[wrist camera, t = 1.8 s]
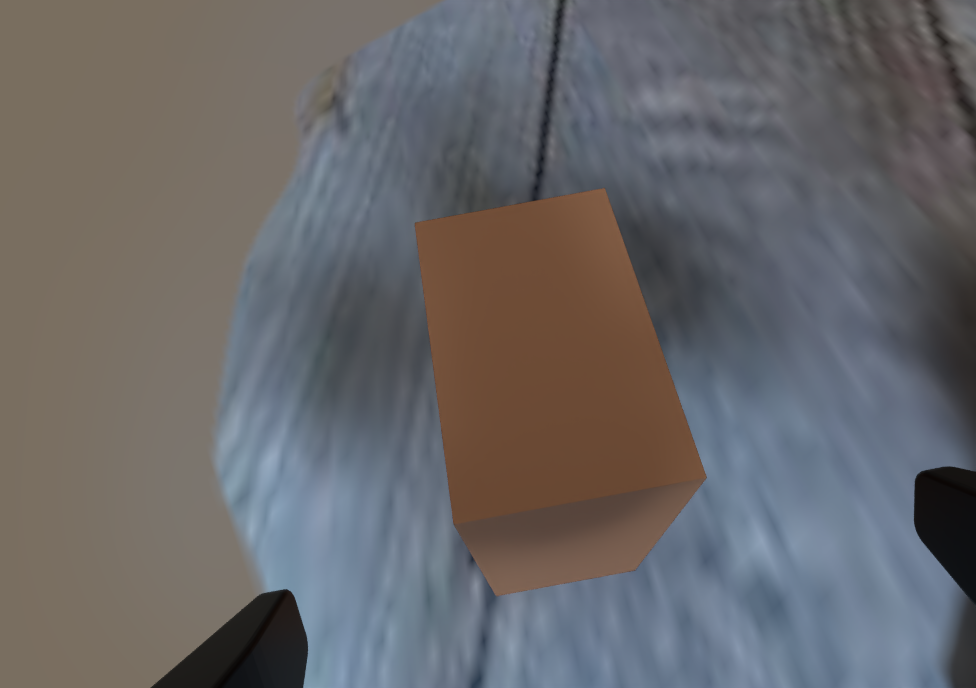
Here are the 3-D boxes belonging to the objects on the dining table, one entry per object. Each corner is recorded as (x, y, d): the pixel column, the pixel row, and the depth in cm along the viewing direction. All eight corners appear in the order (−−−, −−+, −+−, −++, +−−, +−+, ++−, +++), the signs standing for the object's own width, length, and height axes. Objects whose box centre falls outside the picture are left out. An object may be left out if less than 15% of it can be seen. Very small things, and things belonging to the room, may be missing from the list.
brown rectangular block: (634, 570, 19) (706, 477, 10) (496, 596, 19) (453, 524, 10) (582, 377, 23) (604, 188, 14) (465, 399, 23) (414, 222, 14)
